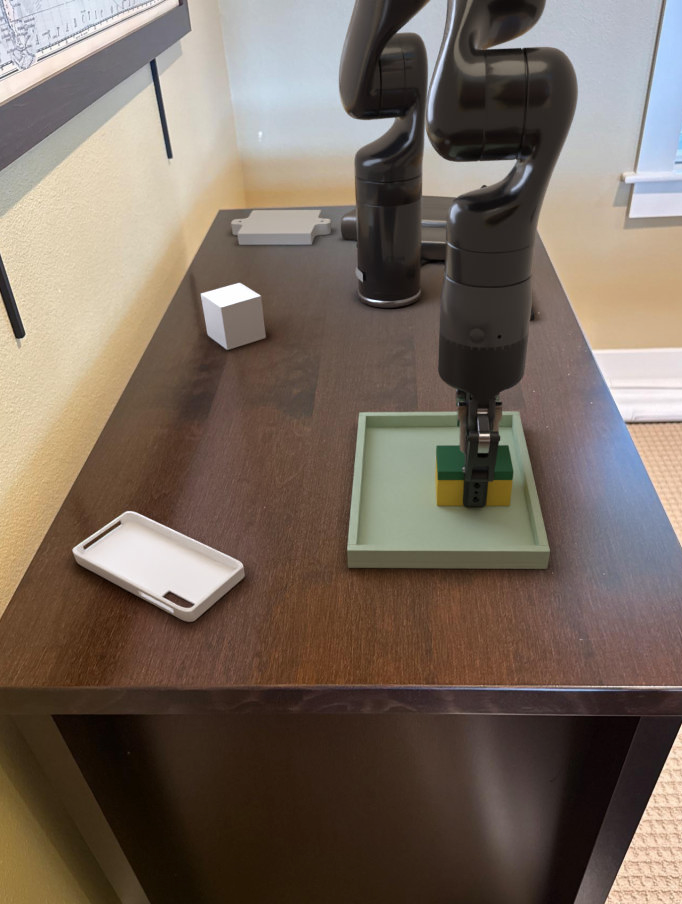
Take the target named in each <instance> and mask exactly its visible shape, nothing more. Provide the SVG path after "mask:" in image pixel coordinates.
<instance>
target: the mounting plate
mask: <svg viewBox="0 0 682 904" xmlns="http://www.w3.org/2000/svg"><path fill="white" fill-rule="evenodd" d="M322 214H323V213H322V209H269V210H268V209H253V210H252V211H251V212H250V214H249V215H248V217H245V218H235V219H232V220H231V222H230V226H231V233H232V235H233V236H237V242H238V245H239V246H249V245H250V246H253V245H254V246H262V245H263V246H266V245H267V246H270V245H271V246H272V245H273V246H279V245H280V246H282V245H283V246H287V245H291V246H292V245H294V246H295V245H297V246H306V245H308V246H309V245H312V244H313V242H314V240H315V238H316V237H317V236H328V235H330V234H331V233H332V225H331V224H332V223H331V219H330V218H323V216H322Z"/></svg>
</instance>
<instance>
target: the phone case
mask: <svg viewBox="0 0 682 904" xmlns="http://www.w3.org/2000/svg"><path fill="white" fill-rule="evenodd" d="M119 522H120V525H118V526H117V527H115V528H113V529H112V530H111V531H109V532H108V533H106V534H105V535H103V536H102V537H100V538H99V539H98V540H97V541H95V542H94V543H92V544H91V545H90V546H87V548H84V546H86V545H87V544H88V543H90V542H91V541H93V540H94V539H96V538H97V537H99V536H100V535H101V534H103V533H104V532H106V531H108V529H110V528H111V527H113V526H114V525H115V524H117V523H119ZM71 551H72V554H73V557H74V559H75V562H76V563H77V564H78V565H80V566H81V567H83V568H84V569H86V570H88V571H90V572H93V573H94V574H96V575H98V576H100V577H101V578H103V579H105V580H107V581H109V582H111V583H112V584H115V585H116V586H117V587H120V588H122V589H124V590H125V591H127V592H129V593H131V594H133V595H135V596H137V597H138V598H140V599H142V600H144V601H146V602H147V603H150V604H151V605H154V606H155V607H157V608H159V609H161V610H163V611H164V612H167V613H168V614H170V615H172V616H174V617H176V618H177V619H179V620H182V621H184V622H188V623H192V622H195V621H196V620H197V619H198V618H200V617H201V616H202V615H203V614H204V613H205V612H206V611H207V610H209V609H210V608H211V607H212V606H213V605H215V603H217V602H218V601H219V600H220V599H221V598H222V597H224V596H225V595H226V594H227V593H228V592H229V591H230V590H232V588H234V587H235V586H236V585H237V584H238V583H239V582H241V581H242V580H243V579H244V578H245V576H246V575H245V567H244V564H243V563H242V562H241V561H240V560H238V559H237V558H234V557H232V556H230V555H228V554H226V553H224V552H222V551H219V550H217V549H215V548H214V547H212V546H211V547H210V546H209V545H207V544H204V543H202V542H200V541H198V540H196V539H193V538H192V537H189V536H188V535H185V534H183V533H182V532H179V531H177V530H175V529H173V528H170V527H168V526H167V525H164V524H162V523H160V522H157V521H155V520H153V519H151V518H149V517H147V516H145V515H142V514H140V513H138V512H136V511H132V510H129V511H128V510H127V511H125V512H123V513H121V514H120V515H119V516H118V517H116V518H114V519H113V520H112V521H110V522H109V523H107V524H106V525H104V526H103V527H101V528H100V529H99V530H97V531H96V532H95V533H93V534H91V535H89V536H88V537H87V538H86V539H84V540H83V541H81V542H80V543H78V544H77V545H76V546H74V547H73V548H72V550H71ZM168 593H171V594H173V595H175V596H176V597H179V598H181V599H183V600H185V601H186V602H188V603H190V604H192V606H190V607H183V606H181V605H178V604H176V603H174V602H173V601H171V600H169V599H167V598H165V596H166V595H167V594H168Z"/></svg>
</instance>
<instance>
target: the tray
mask: <svg viewBox="0 0 682 904" xmlns="http://www.w3.org/2000/svg"><path fill="white" fill-rule="evenodd" d="M522 423H523V422H522V418H521V415H520V411H519V410H509V411H508V410H506V411H505V410H504V411H502V420H501V421H500V422H499V435H500V441H499V445H508V446H509V451H510V456H511V461H512V466H513V471H514V473H513V482H512V491H511V500H510V506H484V507H482V508H467V507H465V506H437V503H436V484H435V470H436V446H437V445H459V427H458V426H457V411H368V412H367V411H366V412H365V411H363V412H361V411H360V412H359V413H358V421H357V433H356V444H355V455H354V458H355V459H354V466H353V478H352V479H353V480H352V489H351V490H352V491H351V501H350V511H349V512H350V514H349V524H348V535H347V546H346V548H347V549H346V555H347V556H346V557H347V568H348V569H463V570H464V569H471V570H476V569H478V570H480V569H483V570H485V569H488V570H493V569H494V570H495V569H496V570H501V569H502V570H503V569H504V570H547V569H548V568H549V567H548V566H549V561H550V555H551V549H550V546H549V540H548V536H547V531H546V527H545V522H544V518H543V514H542V509H541V504H540V499H539V494H538V491H537V486H536V482H535V478H534V477H535V476H534V473H533V468H532V464H531V458H530V455H529V450H528V445H527V442H526V436H525V432H524V428H523V424H522ZM491 431H492V430H491Z"/></svg>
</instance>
